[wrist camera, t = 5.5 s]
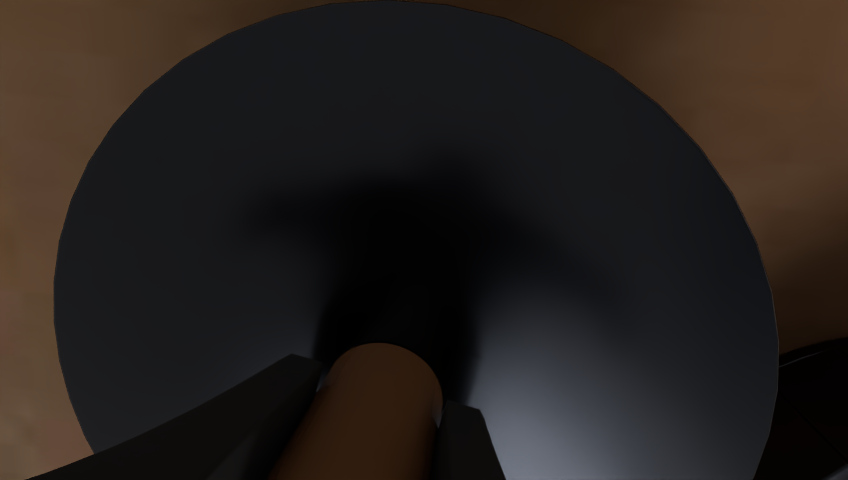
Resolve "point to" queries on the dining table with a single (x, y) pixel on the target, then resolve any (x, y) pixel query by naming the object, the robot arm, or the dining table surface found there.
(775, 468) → the pan
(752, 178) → the dining table surface
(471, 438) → the robot arm
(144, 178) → the pan lid
